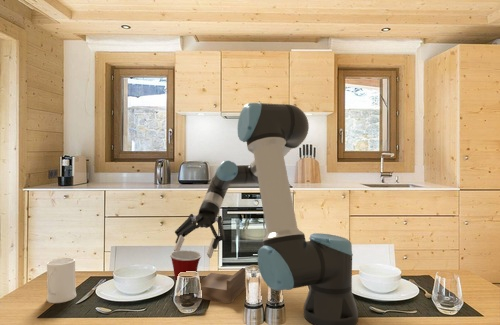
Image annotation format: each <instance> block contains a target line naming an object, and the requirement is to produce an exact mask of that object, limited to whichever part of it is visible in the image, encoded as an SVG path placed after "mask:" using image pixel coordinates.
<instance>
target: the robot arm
mask: <svg viewBox="0 0 500 325" xmlns="http://www.w3.org/2000/svg"><path fill="white" fill-rule="evenodd" d="M308 119H309V118H307V115H306V114H305V112H304V111H303V110H302V109H301V108H300V107H298V106H296V105H294V104H287V103H286V104H284V103H283V104H282V103H265V102H263V103H262V102H249V103H246V104H245V105H244V106H243V107H242V109H241V110H240V114H239V117H238V120H237V136H238V137H237V138H238V139H239V140H240V141H241V142H243V143H246V144H247V145H246V147H247V150H248V151H249V152H250V153H252V154H253V161H252V162H251V163H250V164H246V165H243V164H241V165H239V164H236V163H235V162H234V161H231V160H224V161H222V162H221V163H220V164H219V166H218V167H217V168H216V172H215V173H214V175H213V176H212V178H211V179H210V184H209V185H208V189H207V190H206V193H205V195H204V197H203V200H202V203H201V205H200V207H199V210H198V213H197V215H194V214H193V213H190V214H189V216H188V218H186V220H185V221H183V223H182V224H181V225H180V226H179V227H178V228H177V229H176V230H175V231H174V233H175V235H176V236H177V238H176V240H175V243H174V244H175V246H174V248H173V252H175V251H181V249H182V246H183V244H184V241H185V237H187V236H188V235H189V234H190V233H192V232H193V231H194V230H196V229H199V228H200V229H201V228H204V229H205V228H206V229H208V228H210V230H211V232H212V235H213V237H212V238H211V242H210V244H209V246H208V250H207V252H206V255H207V257H208V258H209V259H212V257H213V255H214V251H215V250H216V249H218V247H219V246H218V245H219V242H221V241H222V242H224V241H226V237H225V232H224V226H223V225H224V219H223V217H222V215H219V214H220V213H219V212H220V210H221V207H222V204H223V201H224V199H225V197H226V194H227V192H228V190H229V188H230V186H232V185H250V184H253V185H254V184H257V185H258V187H259V194H260V199H261V200H260V201H261V204H262V206H261V207H262V210H263V212H262V213H263V218H264V224H265V229H266V235H265V236H264V238H263V240H262V244H263V245H262V246H261V247H259V249H258V251H257V256H258V257H257V266H258V270H259V274H260V276H261V278H262V280H263V282H264V283H265V284H266V285H267V287H269V288H270V289H272V290H273V291H285V290H286V291H290V290H292V289H299V288H303V287H308V286H309V290H308V293H307V297H306V298H305V302H304V305H303V316H304V319H305V320H306V321H307V322H309V323H311V324H312V325H356V324H358V321H359V310H358V307H357V304H356V300H355V296H354V294H353V287H352V286H353V278H352V277H353V256H354V254H353V249H352V248H353V247H352V242H351V241H350V240H349V239H348V238H346V237H343V236H341V235H340V236H339V235H335V234H330V233H329V234H328V233H320V232H319V233H316V232H315V233H311V234H310V236H309V239H308V241H307V240H306V236H305V233H304V232H303V231H302V230H300V229H299V228H298V224H297V223H298V222H297V219H296V214H295V207H294V203H293V197H292V192H291V188H290V182H289V177H288V173H287V172H288V171H287V166H286V161H285V156H286V155H287V154H288V153H289V152H290V151H291V150H292V149H296V148H298V147H299V146H300V145H302V143H303V142H304V141H305V140H306V138H307V136H308V134H309V128H310V127H309V126H310V125H309V124H310V123H309V120H308ZM218 215H219V216H218ZM215 223H217V228H218V233H219V235H218V233H217V231H216V229H215V227H214V225H213V224H215Z"/></svg>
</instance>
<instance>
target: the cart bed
mask: <svg viewBox="0 0 500 325" xmlns="http://www.w3.org/2000/svg"><path fill="white" fill-rule="evenodd" d="M199 281H200V283H201V290H202V299H201V300H207V301H213V302H220V303H224V304H225V303H226V304H231V303H232V302H233V301H234V300H236V298H238V296H240V295H241V294H242V293H243V292H244V290H246V267H245V268H244V267H242V268H240V269H238V271H237V272H235V273H234V274H233V275H231V274H224V273H215V272H210V273H209V274H208V275H206V276H205V277H203V278H202V279H200V280H199Z"/></svg>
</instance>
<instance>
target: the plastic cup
mask: <svg viewBox="0 0 500 325" xmlns="http://www.w3.org/2000/svg"><path fill="white" fill-rule="evenodd" d="M169 257H170V259H171V263H172V268H173V275H174V279H175V281H176V280H177V276H178V274H179V273H180V272H186V271H196V272H198V268H199V266H198V265H199V262H200V260H201V258H202V253H200V252H197V251H195V250H185V249H184V250H180V251H175V252H174V251H172V252H170V254H169Z"/></svg>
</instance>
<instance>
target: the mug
mask: <svg viewBox="0 0 500 325" xmlns="http://www.w3.org/2000/svg"><path fill="white" fill-rule="evenodd" d="M46 274H47V275H46V279H47V280H46V289H47V290H46V291H47V296H46V297H47V298H46V302H47V303H49V304H61V303H66V302H70V301H72V300H74V299H76V297H77V292H76V291H77V289H76V288H77V287H76V259H75V258H73V257H60V258H54V259H52V260H49V261H47V263H46Z"/></svg>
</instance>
